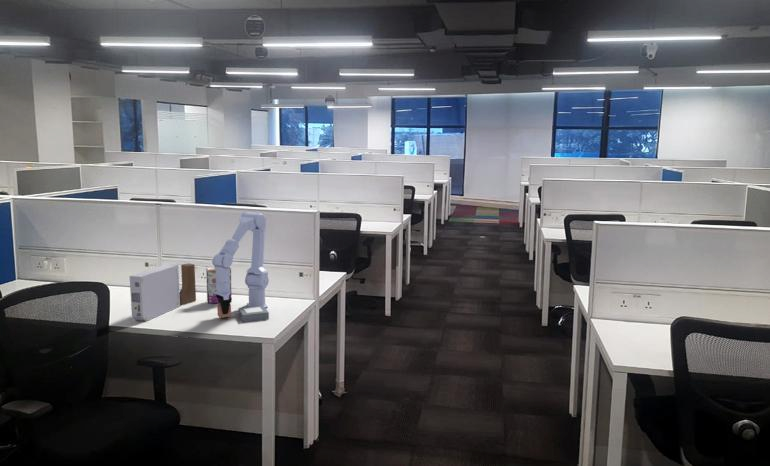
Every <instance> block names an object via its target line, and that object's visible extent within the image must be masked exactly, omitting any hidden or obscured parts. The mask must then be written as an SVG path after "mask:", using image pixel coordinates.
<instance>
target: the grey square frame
mask: <svg viewBox="0 0 770 466" xmlns="http://www.w3.org/2000/svg"><path fill="white" fill-rule="evenodd" d="M237 309H238V316H239V318H240V319H241V321H242V322H243V323H245V322H255V321H263V320H269V319H270V318H269V317H270V313H269V311H268V310H267V308H265V307H264V306H258V307H248V306H247V307H239V308H237Z"/></svg>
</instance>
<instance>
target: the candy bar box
mask: <svg viewBox="0 0 770 466" xmlns="http://www.w3.org/2000/svg"><path fill="white" fill-rule="evenodd" d="M229 268H230V291H231V293H230V295H229V298H232V269H231V266H230V267H229ZM205 270H206V272H205V274H206V302H207V304H217V303H219V301H218V299H217V297H216V295H217V294H214V292H216V291H217V287H216V271H215V267H206V269H205ZM232 301H233V299H232V300H231V302H232Z"/></svg>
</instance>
